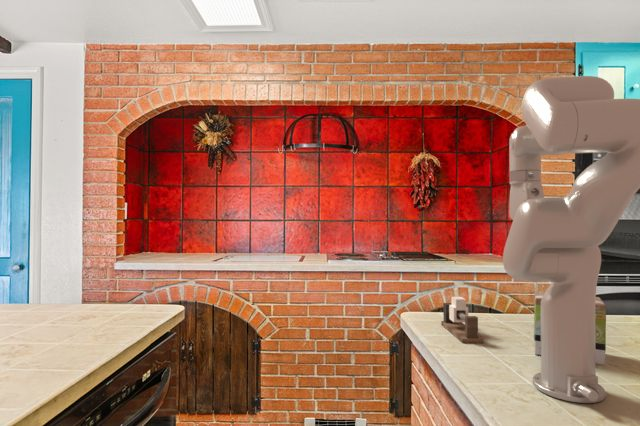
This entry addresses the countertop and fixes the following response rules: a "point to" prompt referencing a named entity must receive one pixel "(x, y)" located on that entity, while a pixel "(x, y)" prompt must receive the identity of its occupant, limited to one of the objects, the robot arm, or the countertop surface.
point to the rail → (462, 326)
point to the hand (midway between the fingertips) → (525, 246)
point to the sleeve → (457, 308)
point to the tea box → (599, 327)
